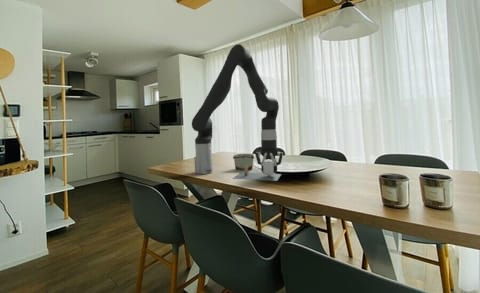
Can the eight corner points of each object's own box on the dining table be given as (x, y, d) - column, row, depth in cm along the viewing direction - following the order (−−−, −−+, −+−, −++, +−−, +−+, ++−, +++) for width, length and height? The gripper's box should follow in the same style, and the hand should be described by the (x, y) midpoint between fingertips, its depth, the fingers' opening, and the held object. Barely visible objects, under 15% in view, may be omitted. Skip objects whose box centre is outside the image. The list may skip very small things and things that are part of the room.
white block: (263, 175, 116) (263, 162, 116) (265, 172, 121) (265, 161, 120) (273, 175, 115) (273, 163, 114) (275, 173, 119) (275, 161, 119)
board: (232, 181, 117) (232, 168, 116) (240, 175, 130) (240, 163, 129) (277, 183, 110) (277, 170, 109) (281, 176, 123) (281, 164, 122)
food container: (255, 170, 142) (254, 153, 141) (254, 172, 136) (254, 155, 135) (234, 170, 143) (234, 153, 142) (233, 172, 137) (232, 155, 136)
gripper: (252, 139, 115) (253, 174, 116) (282, 139, 110) (283, 175, 112) (256, 138, 122) (257, 170, 123) (284, 138, 117) (284, 171, 119)
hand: (269, 172), depth 118 cm, fingers closed on white block, 5 cm apart
